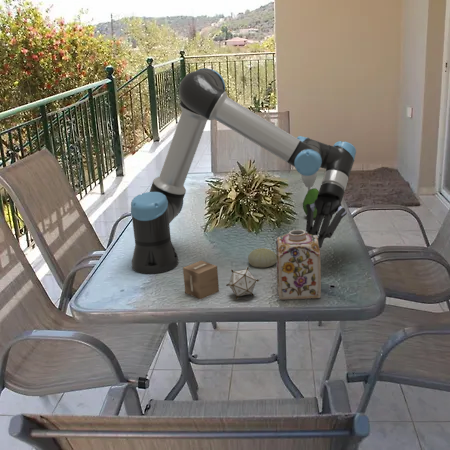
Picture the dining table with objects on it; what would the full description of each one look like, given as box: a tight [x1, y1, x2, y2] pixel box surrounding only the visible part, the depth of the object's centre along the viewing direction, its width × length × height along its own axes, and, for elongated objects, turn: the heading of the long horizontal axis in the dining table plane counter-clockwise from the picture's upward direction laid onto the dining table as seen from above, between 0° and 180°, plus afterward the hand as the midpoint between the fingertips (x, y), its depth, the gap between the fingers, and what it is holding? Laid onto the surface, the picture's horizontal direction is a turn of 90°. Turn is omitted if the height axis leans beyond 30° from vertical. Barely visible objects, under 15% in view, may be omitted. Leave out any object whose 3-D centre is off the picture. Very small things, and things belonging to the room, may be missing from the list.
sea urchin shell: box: [247, 247, 277, 269], centre depth 188 cm, size 9×8×8 cm
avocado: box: [302, 187, 319, 220], centre depth 229 cm, size 8×8×12 cm
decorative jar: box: [275, 229, 322, 301], centre depth 165 cm, size 12×12×18 cm
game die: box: [225, 266, 260, 300], centre depth 166 cm, size 9×8×10 cm
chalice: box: [300, 172, 318, 193], centre depth 241 cm, size 7×7×18 cm
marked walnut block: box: [182, 260, 220, 300], centre depth 170 cm, size 7×7×8 cm
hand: (311, 256), depth 173 cm, fingers closed
